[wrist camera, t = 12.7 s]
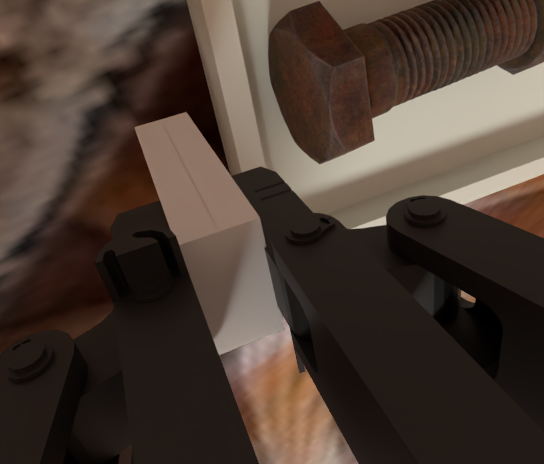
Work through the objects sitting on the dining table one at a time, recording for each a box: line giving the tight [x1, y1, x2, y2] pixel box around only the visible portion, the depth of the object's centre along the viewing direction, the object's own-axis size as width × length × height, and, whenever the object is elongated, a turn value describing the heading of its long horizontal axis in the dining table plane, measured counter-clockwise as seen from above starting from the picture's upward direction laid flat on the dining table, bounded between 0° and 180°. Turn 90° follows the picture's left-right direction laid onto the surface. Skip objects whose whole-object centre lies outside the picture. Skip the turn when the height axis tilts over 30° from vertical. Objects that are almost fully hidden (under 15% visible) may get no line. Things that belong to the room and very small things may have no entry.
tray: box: [186, 0, 544, 229], centre depth 21 cm, size 16×21×3 cm
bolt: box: [268, 0, 544, 164], centre depth 19 cm, size 6×5×15 cm
